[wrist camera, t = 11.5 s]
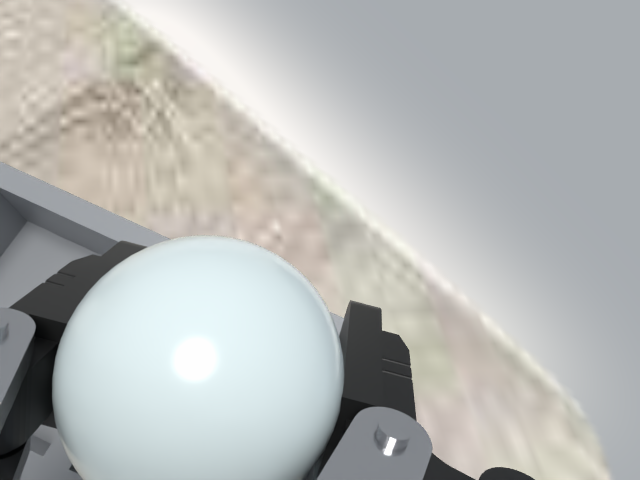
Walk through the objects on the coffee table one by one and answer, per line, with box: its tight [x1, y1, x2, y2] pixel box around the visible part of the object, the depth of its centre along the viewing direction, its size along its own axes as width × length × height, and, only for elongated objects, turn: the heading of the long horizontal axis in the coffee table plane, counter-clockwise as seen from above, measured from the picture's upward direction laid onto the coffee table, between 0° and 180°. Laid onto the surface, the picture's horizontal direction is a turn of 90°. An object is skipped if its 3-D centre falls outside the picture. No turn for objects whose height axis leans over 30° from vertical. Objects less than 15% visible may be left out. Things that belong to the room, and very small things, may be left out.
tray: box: [0, 162, 344, 480], centre depth 18 cm, size 22×8×4 cm, turn 66°
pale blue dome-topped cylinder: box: [52, 235, 344, 480], centre depth 11 cm, size 5×5×9 cm
